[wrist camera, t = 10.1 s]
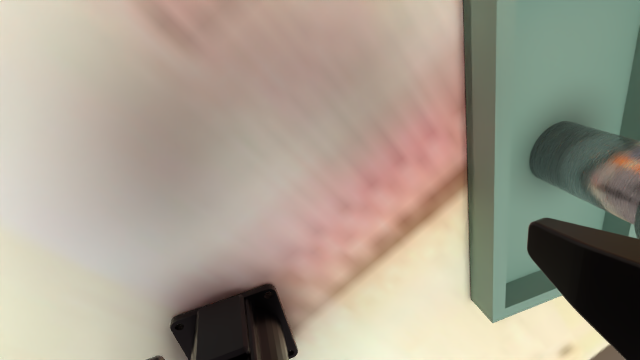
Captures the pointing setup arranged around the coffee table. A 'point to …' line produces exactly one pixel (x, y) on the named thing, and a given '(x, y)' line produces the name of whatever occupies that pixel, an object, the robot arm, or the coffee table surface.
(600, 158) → the grey flanged cylinder
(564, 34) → the tray
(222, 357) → the robot arm
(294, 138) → the coffee table surface
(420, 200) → the coffee table surface
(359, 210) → the coffee table surface
